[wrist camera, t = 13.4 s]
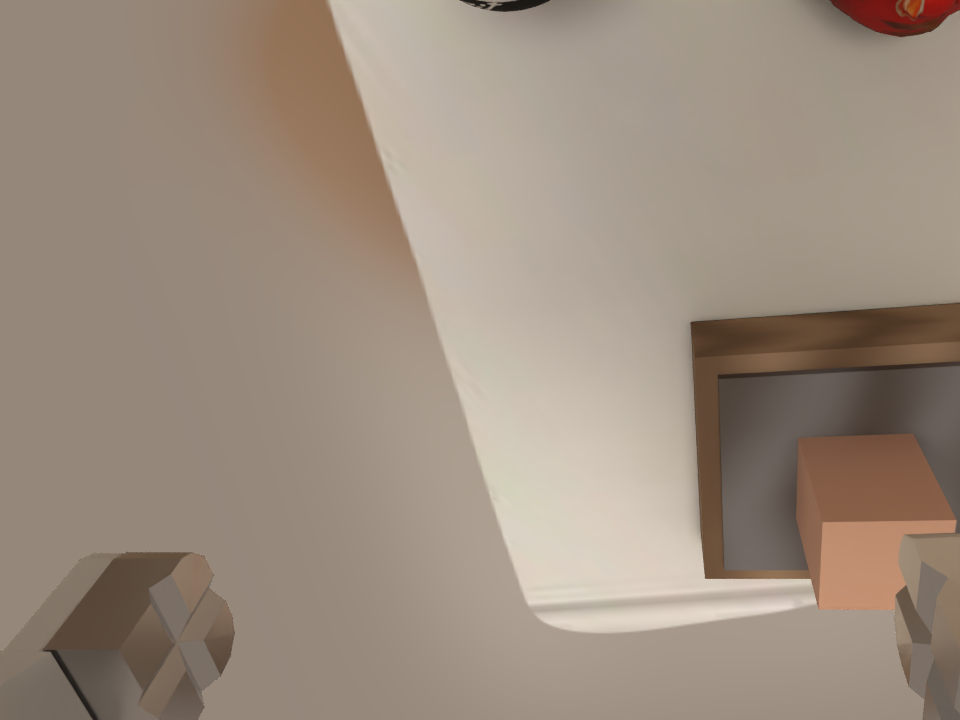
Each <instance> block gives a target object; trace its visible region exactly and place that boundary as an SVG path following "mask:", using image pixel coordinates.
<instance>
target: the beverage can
mask: <svg viewBox="0 0 960 720" xmlns="http://www.w3.org/2000/svg"><path fill="white" fill-rule="evenodd" d="M460 1H462V2H464V3H466V4H469V5H472V6H474V7H478V8H481V9H486V10H492V11H503V12H507V11H518V10H524V9H528V8H532V7H536V6H538V5H541V4H543V3H545V2H548V1H550V0H460Z"/></svg>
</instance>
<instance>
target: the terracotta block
mask: <svg viewBox="0 0 960 720" xmlns="http://www.w3.org/2000/svg"><path fill="white" fill-rule="evenodd" d="M796 520H797V524H798V528H799V532H800V536H801V540H802V544H803V548H804V552H805V557H806V561H807V565H808V569H809V573H810V577H811V581H812V585H813V589H814V593H815V597H816V601H817V605H818V609H844V610H851V609H852V610H895V595H896V594H897V593H898V592H899V591H900V590H901V589H902V588H903V587H904V586H905V585H906V583H905V580H904V578H903V575H902V572H901V570H900V567H899V564H898V558H899V548H900V543H901V540H902V538H903V535H904V534H932V533H955V528H956V521H957V520H956V518H955V516H954V514H953V512H952V510H951V508H950V506H949V504H948V502H947V500H946V498H945V496H944V494H943V492H942V490H941V488H940V486H939V484H938V482H937V480H936V478H935V476H934V474H933V472H932V470H931V468H930V466H929V464H928V462H927V460H926V458H925V456H924V454H923V452H922V450H921V448H920V446H919V444H918V442H917V440H916V438H915V436H914V434H913V433H910V434H884V435H858V436H832V437H805V438H798V463H797V504H796Z"/></svg>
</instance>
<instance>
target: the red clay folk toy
mask: <svg viewBox="0 0 960 720" xmlns="http://www.w3.org/2000/svg"><path fill="white" fill-rule="evenodd" d="M830 1H831V2H832V4H833V5H834V6H835V7H837V8H838V9H840V10H841V11H843V12H844V13H845V14H847V15H849V16H850V17H851V18H852V19H853V20H855V21H857V22H858V23H860V24H862V25H864V26H866V27H868V28H870V29H872V30H874V31H876V32H880V33H883V34H888V35H893V36H898V37H905V36H912V35H919V34H923V33H926V32H931V31H933V30H934V29H935V28H937V27H938V26H939V25H940V24H941V23H942V22H943V21H944V20H945V19H946V18H947V17H948V16H949V15H951V14H953V13H955V12H956V11H958V10H960V0H830Z"/></svg>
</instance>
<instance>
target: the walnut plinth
mask: <svg viewBox="0 0 960 720" xmlns="http://www.w3.org/2000/svg"><path fill="white" fill-rule="evenodd" d="M691 338H692V359H693V380H694V400H695V421H696V442H697V463H698V484H699V505H700V526H701V540H702V551H703V561H704V572H705V579H811V577H810V573H809V569H808V565H807V561H806V557H805V552H804V548H803V544H802V540H801V536H800V532H799V528H798V524H797V520H796V504H797V463H798V438H805V437H832V436H858V435H884V434H910V433H913V434H914V436H915V438H916V440H917V442H918V444H919V446H920V448H921V450H922V452H923V454H924V456H925V458H926V460H927V462H928V464H929V466H930V468H931V470H932V472H933V474H934V476H935V478H936V480H937V482H938V484H939V486H940V488H941V490H942V492H943V494H944V496H945V498H946V500H947V502H948V504H949V506H950V508H951V510H952V512H953V514H954V516H955V518H956V520H957V521H956V528H955V533H960V303H956V304H942V305H928V306H914V307H900V308H886V309H871V310H857V311H843V312H829V313H815V314H800V315H786V316H772V317H758V318H744V319H730V320H715V321H701V322H691Z"/></svg>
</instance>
